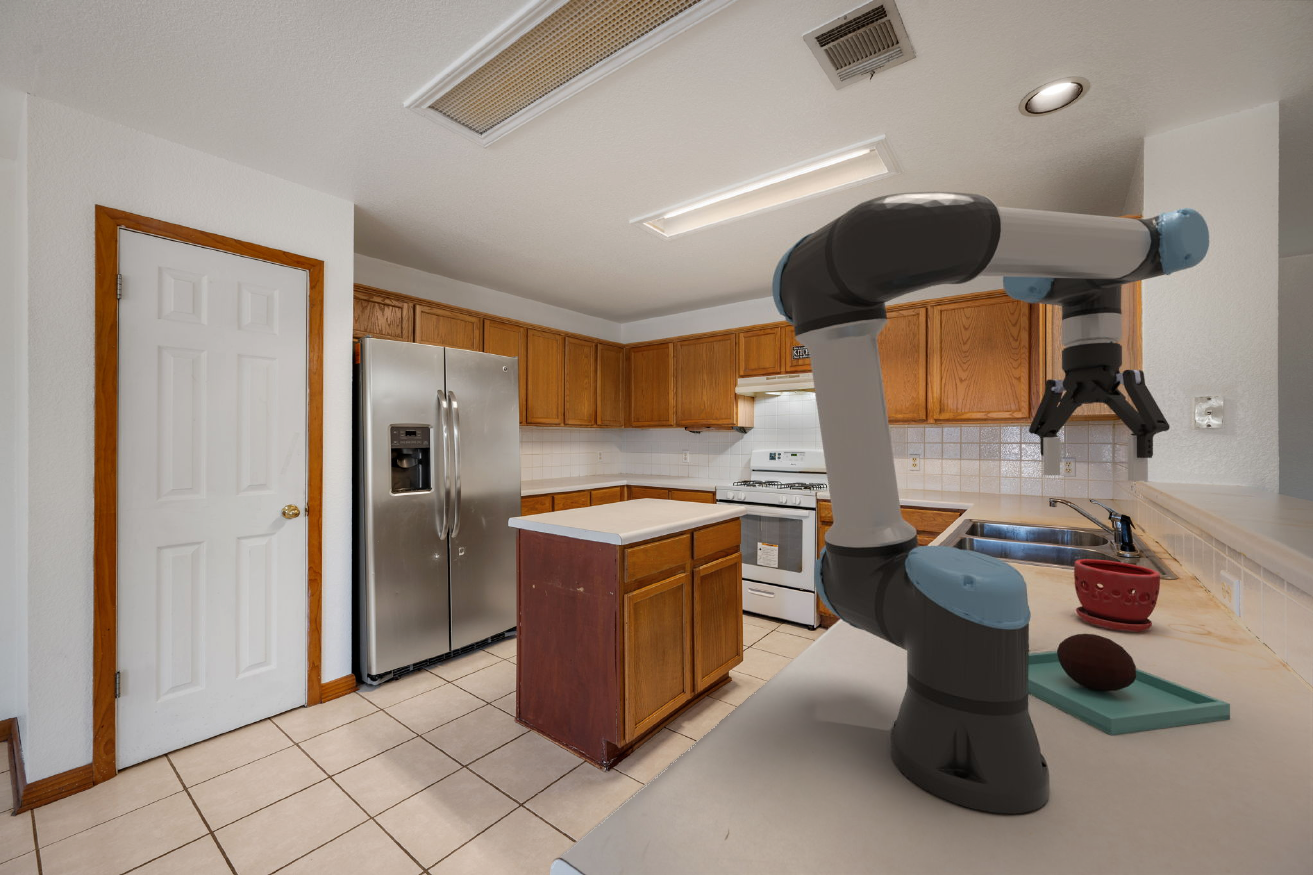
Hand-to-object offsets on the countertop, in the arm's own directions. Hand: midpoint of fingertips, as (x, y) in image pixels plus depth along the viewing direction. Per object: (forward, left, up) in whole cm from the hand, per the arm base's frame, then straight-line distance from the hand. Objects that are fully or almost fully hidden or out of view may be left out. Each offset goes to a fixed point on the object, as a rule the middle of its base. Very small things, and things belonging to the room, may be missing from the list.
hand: (1091, 478), depth 86 cm
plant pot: (+27, +17, -31) cm, 44 cm away
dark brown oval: (-7, -6, -30) cm, 32 cm away
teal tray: (-7, -6, -31) cm, 32 cm away
